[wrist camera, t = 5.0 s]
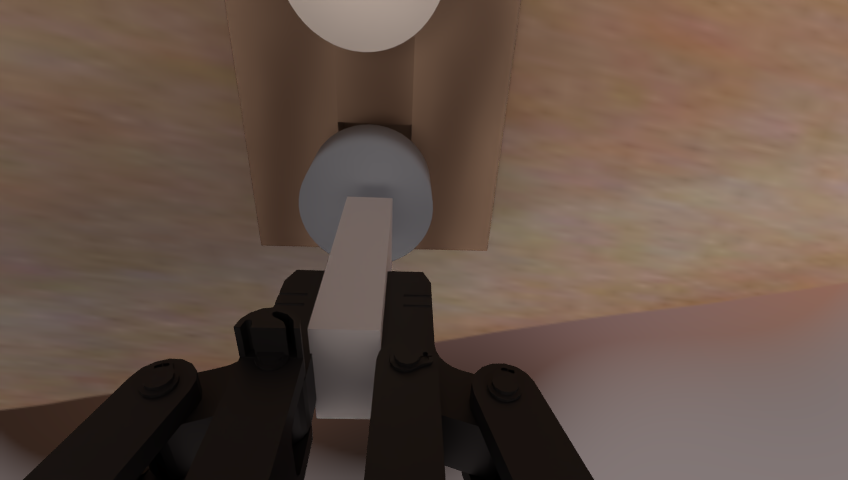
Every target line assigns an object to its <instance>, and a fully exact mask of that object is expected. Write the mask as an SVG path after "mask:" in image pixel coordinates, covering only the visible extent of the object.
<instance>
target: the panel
mask: <svg viewBox="0 0 848 480" xmlns="http://www.w3.org/2000/svg"><path fill="white" fill-rule="evenodd" d="M520 5H521V0H440V2H439V4H438V5H437V7H436V9H435V11H434V13H433V14H432V16H431V17H430V19H429V20H428V22H427V23H426V24H425V25H424V26H423V27H422V29H421V30H420V31H418V32H417V33H416V34H415V35H414V36H413V37H411V38H410V39H408V40H407V41H405V42H404V43H402V44H400V45H397V46H395V47H393V48H390V49H387V50H383V51H377V52H358V51H351V50H348V49H344V48H341V47H338V46H336V45H333V44H331V43H330V42H328V41H326V40H324V39H323V38H321V37H320V36H319V35H317V34H316V33H315V32H313V31H312V30H311V29H310V28H309V27H308V26H307V25H306V24H305V23H304V22H303V21H302V20H301V18H300V17H299V16H298V15H297V13H296V12H295V10H294V9H293V8H292V6H291V5H290V3H289V1H288V0H225V6H226V13H227V20H228V26H229V33H230V40H231V46H232V53H233V59H234V66H235V73H236V79H237V86H238V93H239V99H240V106H241V113H242V119H243V126H244V132H245V139H246V146H247V152H248V159H249V166H250V172H251V179H252V186H253V192H254V199H255V205H256V212H257V219H258V225H259V232H260V239H261V245H267V246H309V247H320V246H319V245H318V244H317V243H316V242H315V241H314V240H313V239H312V238H311V237H310V235H309V233H308V232H307V230H306V229H305V226H304V224H303V222H302V219H301V216H300V211H299V193H300V189H301V185H302V182H303V180H304V178H305V176H306V174H307V172H308V170H309V168H310V166H311V164H312V162H313V160H314V158H315V156H316V154H317V152H318V151H319V149H320V148H321V146H322V145H323V144H324V143H325V142H326V141H327V140H328V139H329V138H330V137H331V136H333V135H334V134H336V133H337V132H339V131H341V130H343V129H346V128H349V127H352V126H357V125H367V124H371V125H380V126H384V127H388V128H390V129H393V130H395V131H397V132H399V133H401V134H403V135H404V136H405V137H407V138H408V139H409V140H410V141H412V142H413V143H414V144H415V145H416V147H417V148H418V149H419V150H420V152H421V153H422V155H423V157H424V159H425V161H426V163H427V166H428V170H429V176H430V183H431V192H432V201H433V213H432V220H431V223H430V226H429V229H428V231H427V233H426V235H425V236H424V238H423V239H422V241H421V242H420V243H419V244H418V245H417V246H416V247H415V248H414V249H435V250H477V251H487V248H488V240H489V233H490V226H491V218H492V211H493V204H494V196H495V189H496V181H497V174H498V167H499V159H500V152H501V145H502V137H503V130H504V123H505V115H506V108H507V100H508V93H509V86H510V78H511V71H512V64H513V56H514V49H515V42H516V34H517V27H518V19H519V12H520Z"/></svg>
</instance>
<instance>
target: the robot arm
mask: <svg viewBox="0 0 848 480" xmlns="http://www.w3.org/2000/svg"><path fill="white" fill-rule="evenodd" d="M392 205H393V198H375V197H347V199H346V202H345V206H344V209H343V212H342V216H341V219H340V222H339V225H338V229H337V232H336V235H335V239H334V242H333V245H332V249H331V252H330V255H329V259H328V262H327V265H326V269H325V271H315V270H296V271H295V272H294V273H293V274H292V275H290V276H289V277H288V278H287V279H286V280H285V281H284V283H283V286H282V288H281V290H280V294H279V295H278V297H277V300H276V302H275V305H274V307H273V308H263V309H260V310H257V311H254V312H251V313H249V314H247V315H246V316H244V317H243V318H241V319H240V320H239V321H238V322H237V324H236V325H235V326H234V331H235V336H236V341H237V346H238V351H239V355H240V358H239V360H238V362H236V363H233V364H231V365H228V366H225V367H221V368H217V369H212V370H208V371H203V372H198V373H197V370H196V369H195V367H194V366H193V364H192V363H190V362H187V361H185V360H183V359H167V360H162V361H157V362H154V363H152V364H150V365H148V366H145V367H143V368H141V369H140V370H139V371H137V372H136V373H135V374H133V375H132V376H131V377H130V378H129V379H127V380H126V381H125V382H124V383H123V384H122V385H121V386H120V387H119V388H118V389H117V390H116V391H115V392H114V393H113V394H112V395H111V396H110V397H109V398H108V399H107V400H106V401H105V402H104V403H102V404H101V405H100V406H99V407H98V408H97V409H96V410H95V411H94V412H93V413H92V414H91V415H90V416H89V417H88V418H87V419H86V420H85V421H84V422H83V423H82V424H81V425H80V426H78V427H77V428H76V430H74V431H73V432H72V433H71V434H70V435H69V436H68V437H67V438H66V439H65V440H64V441H63V442H62V443H61V444H60V445H59V446H58V447H57V448H56V449H55V450H54V451H52V452H51V454H49V455H48V456H47V457H46V458H45V459H44V460H43V461H42V462H41V463H40V464H39V465H38V466H37V467H36V468H35V469H34V470H33V471H32V472H31V473H29V475H27V476H26V477H25V478H24V479H23V480H304V477H305V472H306V467H307V463H308V458H309V454H310V449H311V444H312V440H313V437H312V423H311V422H312V418H313V413H314V409H315V407H316V417H317V418H329V419H335V418H336V419H370V426H369V437H368V446H367V456H366V466H365V477H364V480H445V466H448V467H451V468H454V469H457V470H460V471H462V476H463V479H464V480H594V479H593V477H592V476H591V474H590V472H589V471H588V469H587V468H586V466H585V464H584V463H583V461H582V459H581V458H580V456H579V454H578V453H577V451H576V450H575V448H574V446H573V445H572V443H571V441H570V440H569V438H568V436H567V435H566V433H565V432H564V430H563V428H562V426H561V425H560V424H559V422H558V420H557V418H556V417H555V415H554V413H553V412H552V410H551V408H550V407H549V405H548V404H547V402H546V400H545V399H544V397H543V395H542V394H541V392H540V390H539V389H538V387H537V386H536V384H535V382H534V381H533V380H532V379H531V378H530V377H529V375H528V374H526V373H525V372H524V371H522V370H520V369H519V368H517V367H514V366H511V365H507V364H490V365H487V366H484V367H482V368H481V369H480V370H478V371H477V372H476V373H475V374H472V373H469V372H465V371H461V370H458V369H456V368H454V367H452V366H450V365H449V364H447V363H445V362H444V361H443V360H442V359H441V358H440V357H439V355H438V353H437V352H436V349H435V345H434V329H433V312H432V298H431V296H432V295H431V283H430V281H429V280H428V279H427V277H426V276H425V275H424V273H423V272H397V271H391V268H392Z"/></svg>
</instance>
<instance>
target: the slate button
mask: <svg viewBox="0 0 848 480" xmlns="http://www.w3.org/2000/svg"><path fill="white" fill-rule="evenodd" d="M347 197H375V198H393V205H392V261H394V260H397V259H399V258H401V257H403V256H405V255H406V254H408V253H409V252H411V251H412V250H413V249H414V248H415V247H416V246H417V245H418V244H419V243H420V242H421V241H422V239H423V238H424V236H425V235H426V233H427V231H428V229H429V226H430V223H431V220H432V213H433V201H432V192H431V183H430V176H429V170H428V166H427V163H426V161H425V159H424V157H423V155H422V153H421V152H420V150H419V149H418V148H417V147H416V145H415V144H414V143H413V142H412V141H410V140H409V139H408V138H407V137H405V136H404V135H403V134H401V133H399V132H397V131H395V130H393V129H390V128H388V127H384V126H380V125H371V124H367V125H357V126H352V127H349V128H346V129H343V130H341V131H339V132H337V133H336V134H334V135H333V136H331V137H330V138H329V139H328V140H327V141H326V142H325V143H324V144H323V145H322V146H321V148H320V149H319V151H318V152H317V154H316V156H315V158H314V160H313V162H312V164H311V166H310V168H309V170H308V172H307V174H306V176H305V178H304V180H303V182H302V185H301V189H300V193H299V211H300V216H301V219H302V222H303V224H304V226H305V229H306V230H307V232H308V233H309V235H310V237H311V238H312V239H313V240H314V241H315V242H316V243H317V244H318V245H319V246H320V247H321V248H322V249H323V250H325V251H326V252H327V253H329V254H330V252H331V249H332V245H333V242H334V239H335V235H336V232H337V229H338V225H339V222H340V219H341V216H342V212H343V209H344V206H345V202H346V199H347Z"/></svg>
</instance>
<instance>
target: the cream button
mask: <svg viewBox="0 0 848 480" xmlns="http://www.w3.org/2000/svg"><path fill="white" fill-rule="evenodd" d="M288 1H289V3H290V5H291V6H292V8H293V9H294V10H295V12H296V13H297V15H298V16H299V17H300V18H301V20H302V21H303V22H304V23H305V24H306V25H307V26H308V27H309V28H310V29H311V30H312V31H313V32H315V33H316V34H317V35H319V36H320V37H321V38H323V39H324V40H326V41H328V42H330V43H331V44H333V45H336V46H338V47H341V48H344V49H348V50H351V51H358V52H377V51H383V50H387V49H390V48H393V47H395V46H397V45H400V44H402V43H404V42H405V41H407V40H408V39H410V38H411V37H413V36H414V35H415V34H416V33H417V32H418V31H420V30H421V29H422V27H423V26H424V25H425V24H426V23H427V22H428V20H429V19H430V17H431V16H432V14H433V13H434V11H435V9H436V7H437V5H438V4H439V2H440V0H288Z"/></svg>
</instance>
